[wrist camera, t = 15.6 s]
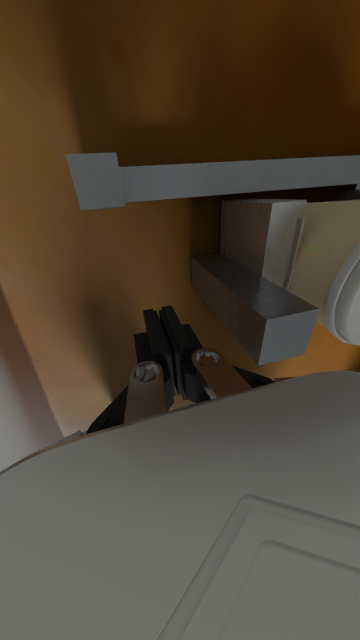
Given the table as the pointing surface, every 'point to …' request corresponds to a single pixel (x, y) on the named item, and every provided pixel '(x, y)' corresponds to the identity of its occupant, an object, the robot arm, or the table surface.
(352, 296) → the lidded cream tub
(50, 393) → the table surface
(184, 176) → the vise bed
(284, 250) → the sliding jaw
